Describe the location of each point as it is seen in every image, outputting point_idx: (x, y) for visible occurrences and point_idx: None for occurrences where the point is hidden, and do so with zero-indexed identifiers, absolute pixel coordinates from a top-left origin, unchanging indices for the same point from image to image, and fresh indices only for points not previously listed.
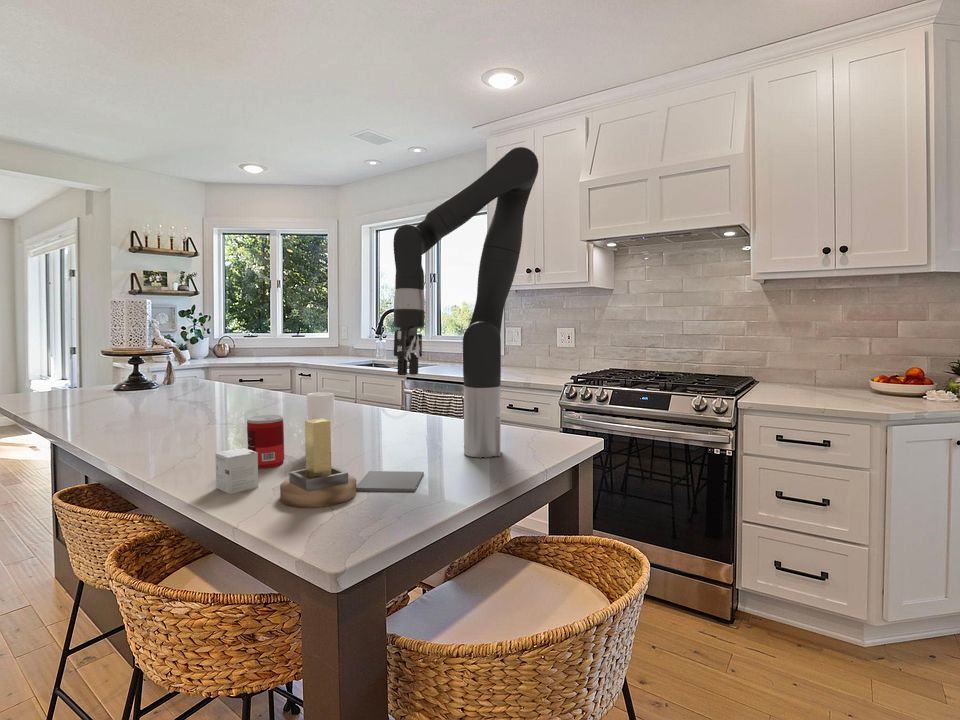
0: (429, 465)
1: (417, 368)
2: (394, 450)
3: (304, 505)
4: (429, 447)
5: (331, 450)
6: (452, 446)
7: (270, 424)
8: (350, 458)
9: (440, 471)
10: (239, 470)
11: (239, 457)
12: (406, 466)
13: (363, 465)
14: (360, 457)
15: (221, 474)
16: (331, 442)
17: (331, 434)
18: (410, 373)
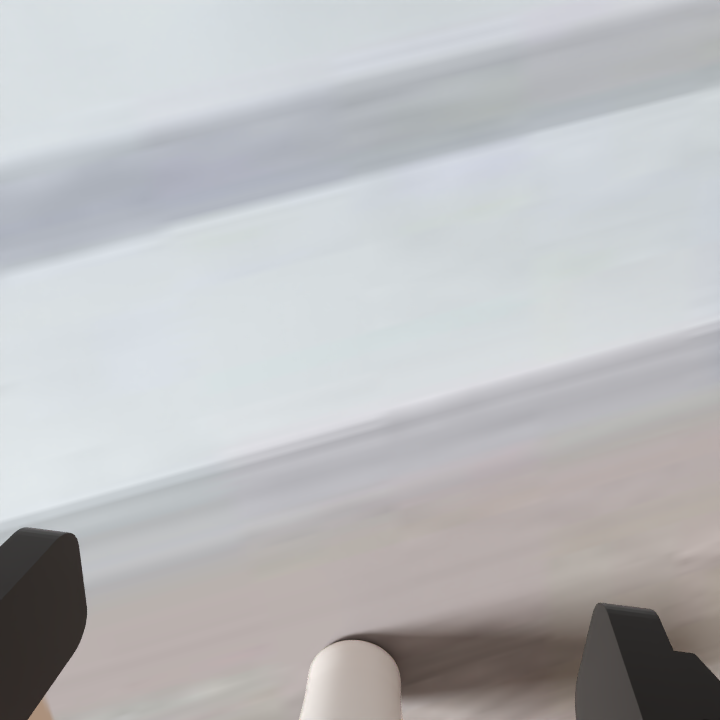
0: (562, 117)
1: (10, 588)
2: (263, 388)
3: None
4: (152, 218)
5: (353, 641)
6: (88, 74)
7: None
8: (449, 534)
9: (693, 16)
10: None
11: None
12: (586, 241)
13: (571, 447)
14: (426, 500)
15: None
16: (352, 670)
17: (354, 703)
18: (81, 622)
